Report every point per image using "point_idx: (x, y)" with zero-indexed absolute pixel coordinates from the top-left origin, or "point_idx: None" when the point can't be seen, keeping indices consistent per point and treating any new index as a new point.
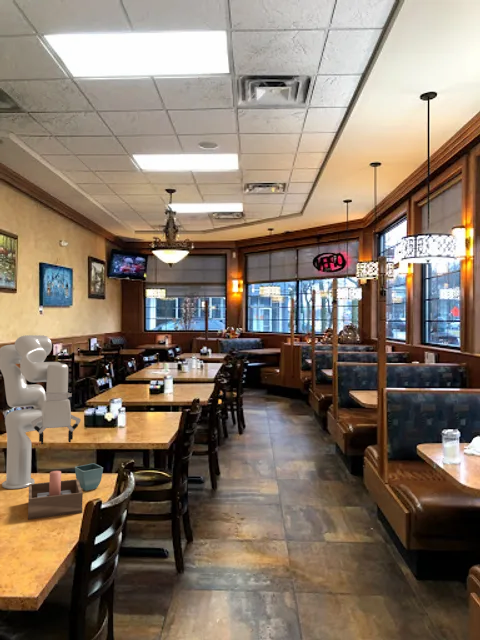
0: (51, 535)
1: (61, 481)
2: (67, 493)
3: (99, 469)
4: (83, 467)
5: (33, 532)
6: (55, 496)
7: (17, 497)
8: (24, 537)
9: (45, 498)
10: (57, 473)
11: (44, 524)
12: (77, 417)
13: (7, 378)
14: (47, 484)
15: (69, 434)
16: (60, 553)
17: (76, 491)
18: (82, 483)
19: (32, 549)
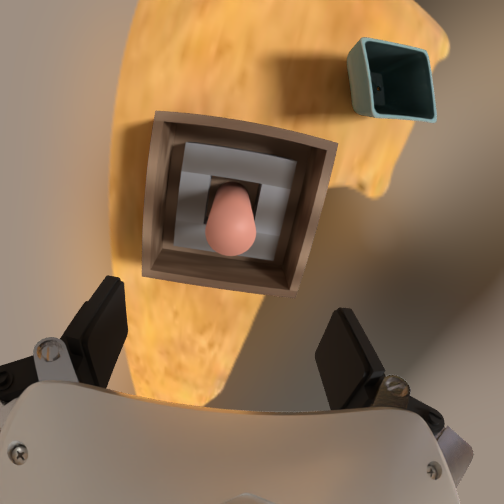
0: (196, 347)
1: (275, 136)
2: (276, 193)
3: (424, 121)
4: (388, 47)
5: (165, 322)
6: (216, 287)
7: (153, 55)
8: (150, 333)
9: (188, 282)
10: (234, 255)
11: (189, 296)
12: (460, 477)
13: None
14: (221, 127)
15: (332, 401)
16: (202, 395)
17: (309, 182)
18: (353, 103)
19: (164, 373)
